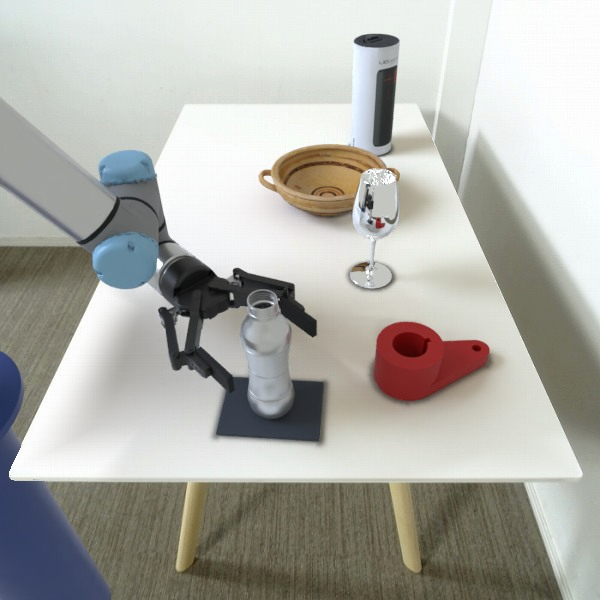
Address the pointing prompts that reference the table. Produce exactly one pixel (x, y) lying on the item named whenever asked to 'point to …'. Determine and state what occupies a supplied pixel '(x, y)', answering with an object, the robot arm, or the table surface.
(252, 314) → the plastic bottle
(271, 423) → the mat
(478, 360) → the lever
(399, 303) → the table surface
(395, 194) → the wineglass
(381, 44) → the speaker
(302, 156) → the ceramic bowl
